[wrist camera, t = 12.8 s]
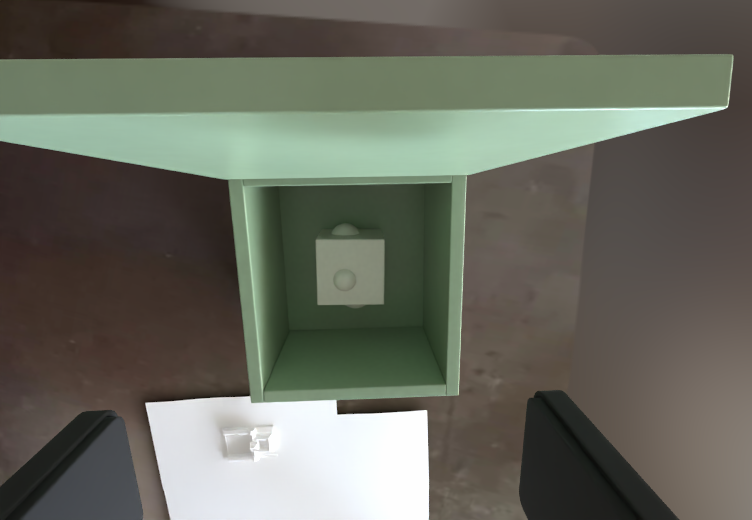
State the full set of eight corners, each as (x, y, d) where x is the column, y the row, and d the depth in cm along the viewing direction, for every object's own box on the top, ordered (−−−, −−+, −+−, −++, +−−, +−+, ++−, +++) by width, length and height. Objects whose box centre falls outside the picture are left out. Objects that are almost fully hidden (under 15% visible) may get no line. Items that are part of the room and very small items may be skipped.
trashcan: (430, 330, 33) (458, 395, 24) (282, 335, 33) (250, 403, 23) (433, 167, 30) (467, 167, 21) (269, 170, 30) (226, 171, 20)
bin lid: (730, 108, 6) (736, 52, 6) (-130, 119, 5) (-142, 59, 5) (469, 174, 20) (469, 159, 20) (224, 179, 20) (222, 163, 20)
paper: (180, 558, 38) (175, 569, 36) (136, 402, 34) (129, 410, 32) (436, 527, 38) (438, 537, 37) (423, 369, 34) (425, 375, 33)
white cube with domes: (321, 219, 30) (313, 230, 25) (381, 219, 30) (385, 230, 25) (323, 296, 31) (316, 321, 26) (380, 295, 32) (384, 320, 26)
